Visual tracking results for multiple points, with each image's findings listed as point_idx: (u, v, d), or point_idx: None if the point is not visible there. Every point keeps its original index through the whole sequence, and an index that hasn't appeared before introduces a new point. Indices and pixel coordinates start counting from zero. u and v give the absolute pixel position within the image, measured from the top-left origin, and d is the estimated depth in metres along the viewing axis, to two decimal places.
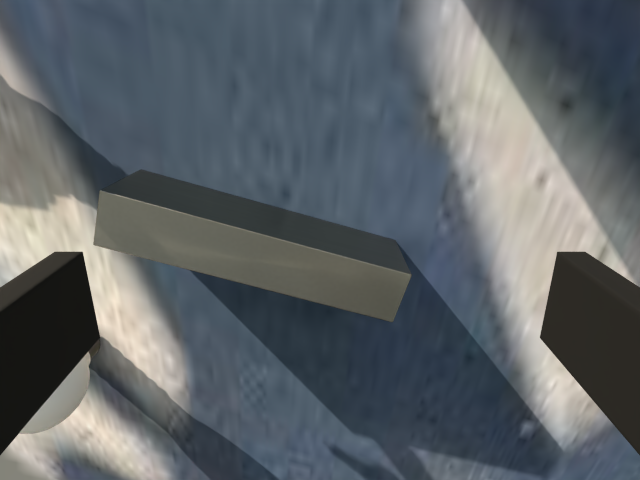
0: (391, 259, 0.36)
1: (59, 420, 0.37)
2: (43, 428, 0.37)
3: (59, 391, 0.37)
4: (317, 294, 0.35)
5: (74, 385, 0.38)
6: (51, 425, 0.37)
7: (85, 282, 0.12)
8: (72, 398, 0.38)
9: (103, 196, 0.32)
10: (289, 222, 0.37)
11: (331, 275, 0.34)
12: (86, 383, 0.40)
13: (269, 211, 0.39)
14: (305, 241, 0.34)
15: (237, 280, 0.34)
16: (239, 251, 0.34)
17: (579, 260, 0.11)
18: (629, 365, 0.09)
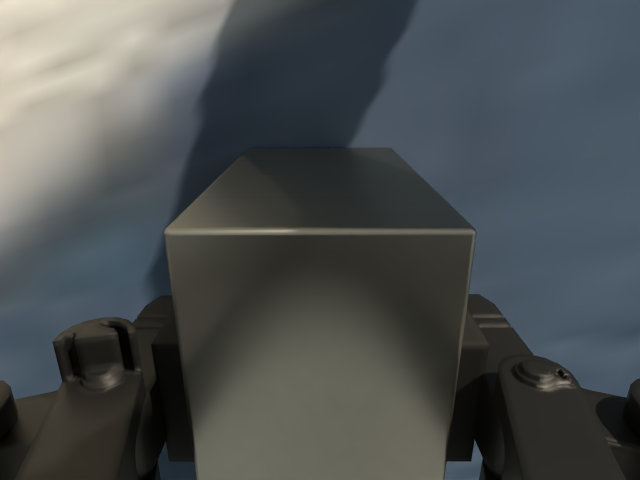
0: None
1: None
2: None
3: None
4: None
5: None
6: None
7: None
8: None
9: (448, 251, 0.06)
10: None
11: None
12: None
13: None
14: None
15: None
16: None
17: None
18: None
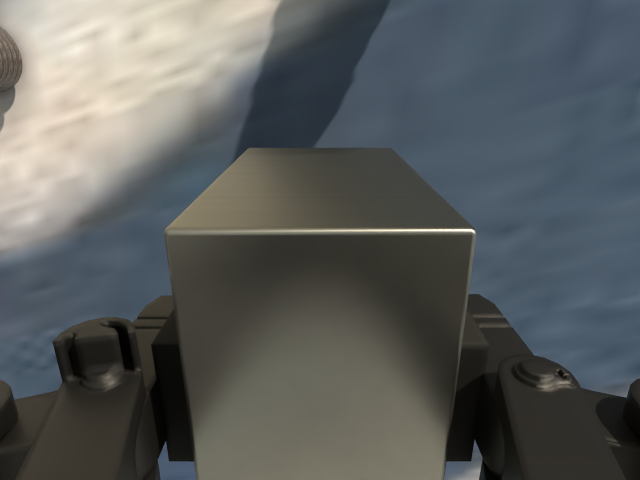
0: None
1: None
2: None
3: None
4: None
5: None
6: None
7: None
8: None
9: (447, 250, 0.06)
10: None
11: None
12: None
13: None
14: None
15: None
16: None
17: None
18: None
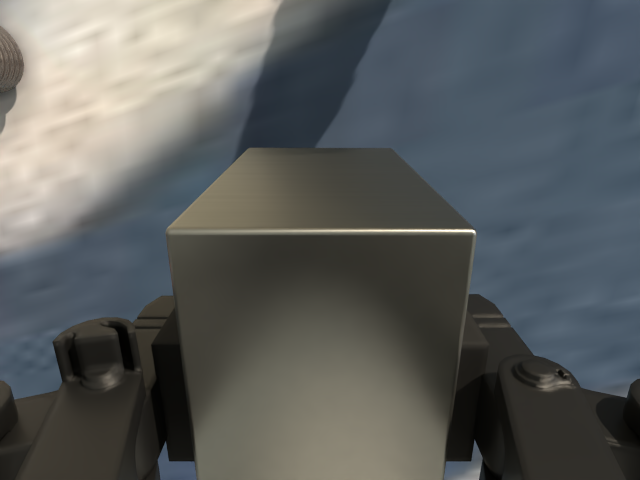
0: None
1: None
2: None
3: None
4: None
5: None
6: None
7: None
8: None
9: (448, 251, 0.06)
10: None
11: None
12: None
13: None
14: None
15: None
16: None
17: None
18: None
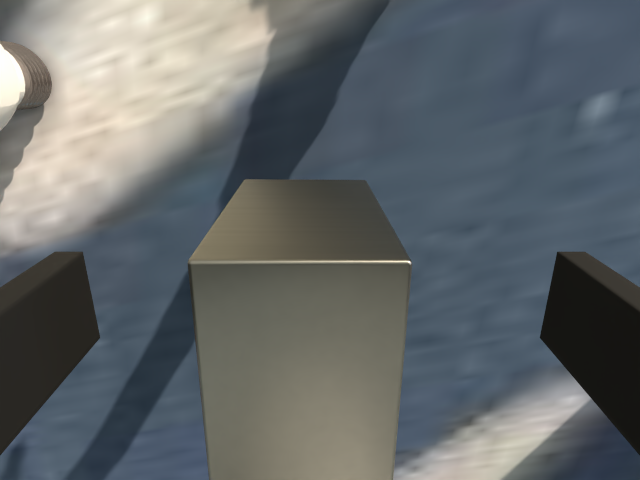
0: None
1: None
2: None
3: None
4: None
5: None
6: None
7: (85, 282, 0.12)
8: None
9: (392, 276, 0.09)
10: None
11: None
12: None
13: None
14: None
15: None
16: None
17: (579, 260, 0.11)
18: (629, 365, 0.09)
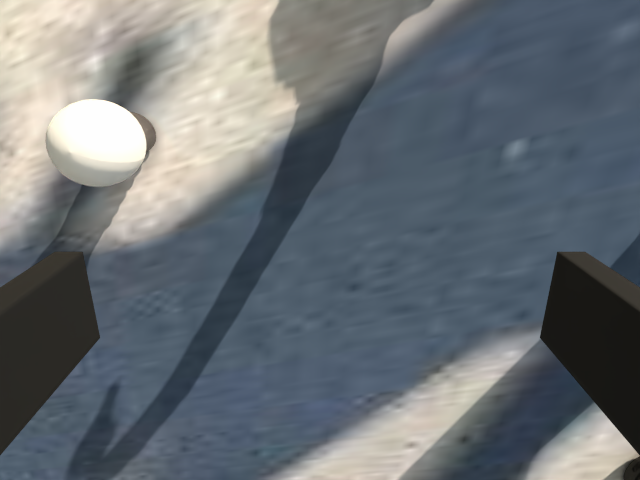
0: None
1: (78, 182, 0.34)
2: (67, 175, 0.32)
3: (115, 177, 0.34)
4: None
5: (120, 181, 0.35)
6: (71, 179, 0.33)
7: (85, 282, 0.12)
8: (107, 185, 0.35)
9: None
10: None
11: None
12: None
13: None
14: None
15: None
16: None
17: (579, 260, 0.11)
18: (629, 365, 0.09)
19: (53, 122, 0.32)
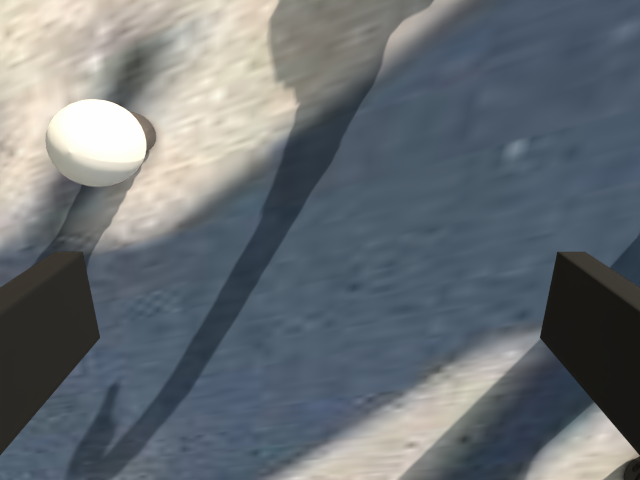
0: None
1: (78, 182, 0.34)
2: (67, 175, 0.32)
3: (115, 177, 0.34)
4: None
5: (120, 181, 0.35)
6: (71, 179, 0.33)
7: (85, 282, 0.12)
8: (107, 185, 0.35)
9: None
10: None
11: None
12: None
13: None
14: None
15: None
16: None
17: (579, 260, 0.11)
18: (629, 365, 0.09)
19: (53, 122, 0.32)
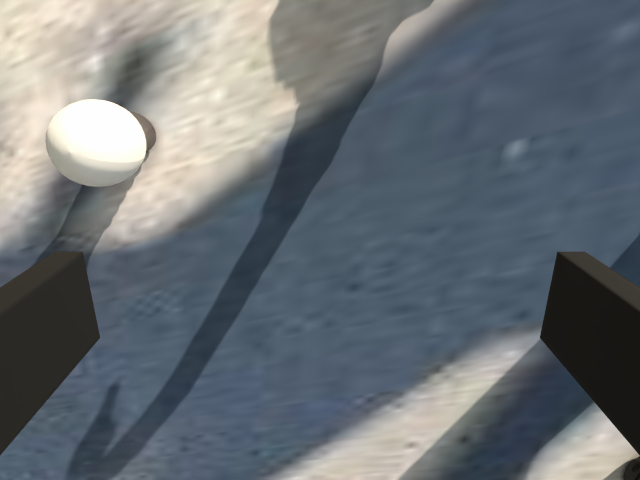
0: None
1: (78, 182, 0.34)
2: (67, 175, 0.32)
3: (115, 177, 0.34)
4: None
5: (120, 181, 0.35)
6: (71, 179, 0.33)
7: (85, 282, 0.12)
8: (107, 185, 0.35)
9: None
10: None
11: None
12: None
13: None
14: None
15: None
16: None
17: (579, 260, 0.11)
18: (629, 365, 0.09)
19: (53, 122, 0.32)
